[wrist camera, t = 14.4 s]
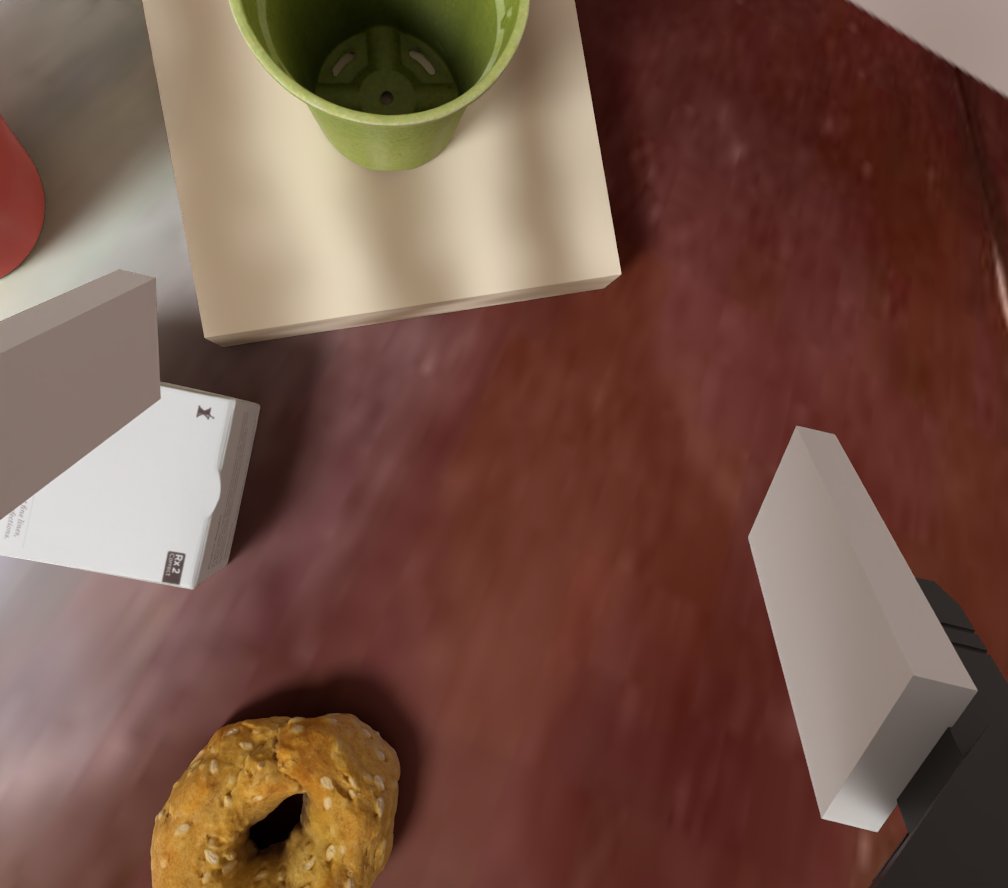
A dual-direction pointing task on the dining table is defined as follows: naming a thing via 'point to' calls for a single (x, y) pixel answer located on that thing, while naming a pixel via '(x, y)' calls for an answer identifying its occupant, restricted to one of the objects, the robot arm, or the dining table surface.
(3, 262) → the flower pot
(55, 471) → the robot arm
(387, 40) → the plant pot
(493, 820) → the dining table surface
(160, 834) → the bagel
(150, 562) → the small box
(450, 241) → the plinth
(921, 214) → the dining table surface
